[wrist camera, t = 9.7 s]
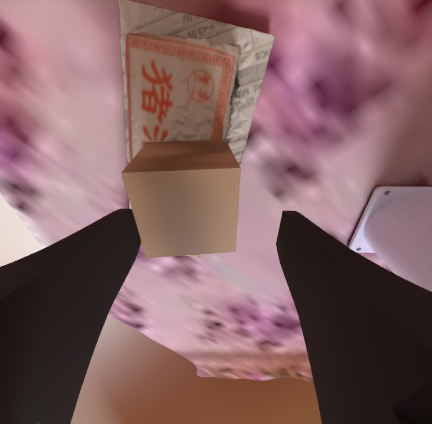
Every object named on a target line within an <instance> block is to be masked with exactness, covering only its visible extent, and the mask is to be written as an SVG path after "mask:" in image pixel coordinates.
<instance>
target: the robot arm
mask: <svg viewBox="0 0 432 424" xmlns="http://www.w3.org/2000/svg"><path fill="white" fill-rule="evenodd" d="M386 191H387V192H386ZM385 192H386V193H385ZM140 245H141V238H140V235H139V231H138V228H137V224H136V221H135V218H134V214H133V211H132V209H119V210H116V211H114V212H112V213H110V214H108V215H106V216H105V217H103V218H101V219H99V220H97V221H96V222H94V223H92V224H90V225H88V226H87V227H85V228H83V229H81V230H79V231H77V232H76V233H74V234H72V235H70V236H68V237H66V238H64V239H62V240H60V241H58V242H56V243H54V244H52V245H50V246H48V247H46V248H44V249H42V250H40V251H37V252H35V253H33V254H31V255H29V256H26V257H24V258H21V259H19V260H17V261H14V262H12V263H9V264H7V265H4V266H1V267H0V424H70V423H71V419H72V416H73V413H74V410H75V407H76V403H77V399H78V397H79V393H80V390H81V387H82V384H83V381H84V378H85V375H86V372H87V369H88V366H89V363H90V360H91V357H92V355H93V352H94V349H95V346H96V344H97V341H98V338H99V335H100V333H101V330H102V328H103V325H104V323H105V320H106V318H107V315H108V313H109V310H110V308H111V306H112V304H113V302H114V300H115V298H116V296H117V294H118V292H119V290H120V288H121V286H122V285H123V283H124V281H125V279H126V277H127V275H128V273H129V271H130V269H131V267H132V265H133V263H134V261H135V259H136V256H137V254H138V251H139V248H140ZM276 246H277V251H278V256H279V261H280V264H281V267H282V270H283V273H284V276H285V278H286V281H287V284H288V287H289V290H290V292H291V295H292V298H293V301H294V303H295V306H296V309H297V313H298V316H299V320H300V324H301V328H302V332H303V336H304V340H305V344H306V348H307V353H308V357H309V361H310V366H311V370H312V375H313V380H314V384H315V390H316V394H317V399H318V404H319V410H320V415H321V421H322V424H432V187H416V186H380V187H377V188H376V189H375V190H374V192H373V194H372V196H371V198H370V201H369V203H368V205H367V207H366V209H365V211H364V213H363V216H362V218H361V220H360V222H359V224H358V226H357V228H356V230H355V233H354V235H353V237H352V239H351V241H350V243H349V245H348V247H347V246H346V245H344V244H342V243H341V242H339V241H338V240H336V239H335V238H333V237H332V236H331V235H329V234H328V233H326V232H325V231H324V230H322V229H321V228H319V227H318V226H317V225H315V224H314V223H313V222H311V221H310V220H309V219H307V218H306V217H304V216H303V215H302V214H300V213H299V212H297V211H283V213H282V217H281V222H280V227H279V232H278V237H277V242H276ZM356 252H370V253H376V254H377V255H378V256H379V257H380V258H381V259H382V260H383V261H384V263H385V264H386V265H387V266H388V267H389V268H390V269H391V270H392V271H393V272H394V273H395V274H394V273H392V272H390V271H388V270H386V269H384V268H383V267H381V266H379V265H377V264H376V263H374V262H372V261H370V260H368V259H367V258H365V257H363V256H361V255H360V254H358V253H356Z"/></svg>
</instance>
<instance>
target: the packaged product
mask: <svg viewBox="0 0 432 424" xmlns="http://www.w3.org/2000/svg"><path fill="white" fill-rule="evenodd" d="M119 10H120V28H121V34H120V45H121V60H122V68H123V88H124V115H125V133H126V155H127V159H128V164H129V163H130V162H131V161H132V159H133V158H134V157H135V156H136V154H137V153H138V152H139V151H140V150H141V148H142V147H143V146H144V145H145V143H146V142H170V141H200V140H226V141H227V143H228V145H229V147H230V149H231V151H232V152H233V154H234V156H235V158H236V160H237V162H238V164H239V166H240V164H241V161H242V157H243V153H244V149H245V145H246V141H247V137H248V133H249V129H250V126H251V122H252V119H253V115H254V111H255V108H256V104H257V100H258V96H259V93H260V89H261V86H262V82H263V78H264V74H265V71H266V66H267V63H268V59H269V56H270V52H271V48H272V45H273V41H274V37H275V35H272V34H267V33H263V32H259V31H256V30H252V29H247V28H242V27H239V26H235V25H231V24H227V23H223V22H219V21H215V20H211V19H206V18H202V17H198V16H194V15H190V14H185V13H181V12H176V11H172V10H167V9H164V8H160V7H155V6H150V5H146V4H142V3H138V2H133V1H129V0H119ZM129 208H130V209H132V207H131V204H130V201H129ZM141 245H142V242H141ZM142 246H143V245H142ZM199 255H200V254H195V255H186V256H193V257H199Z"/></svg>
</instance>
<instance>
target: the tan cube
mask: <svg viewBox="0 0 432 424" xmlns="http://www.w3.org/2000/svg"><path fill="white" fill-rule="evenodd" d="M240 169H241V168H240V166H239V164H238V162H237V160H236V158H235V156H234V154H233V152H232V151H231V149H230V147H229V145H228V143H227V141H226V140H200V141H170V142H146V143H145V145H144V146H143V147H142V148H141V150H140V151H139V152H138V153H137V154H136V156H135V157H134V158H133V159H132V161H131V162H130V163H129V164H128V165H127V167H126V168H125V169H124V170H123V172H122V177H123V180H124V184H125V187H126V190H127V194H128V197H129V201H130V204H131V207H132V211H133V214H134V218H135V221H136V224H137V228H138V231H139V235H140V238H141V242H142V245H143V248H144V252H145V255H146V258H153V257H167V256H181V255H195V254H210V253H224V252H236V235H237V219H238V202H239V186H240Z"/></svg>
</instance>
